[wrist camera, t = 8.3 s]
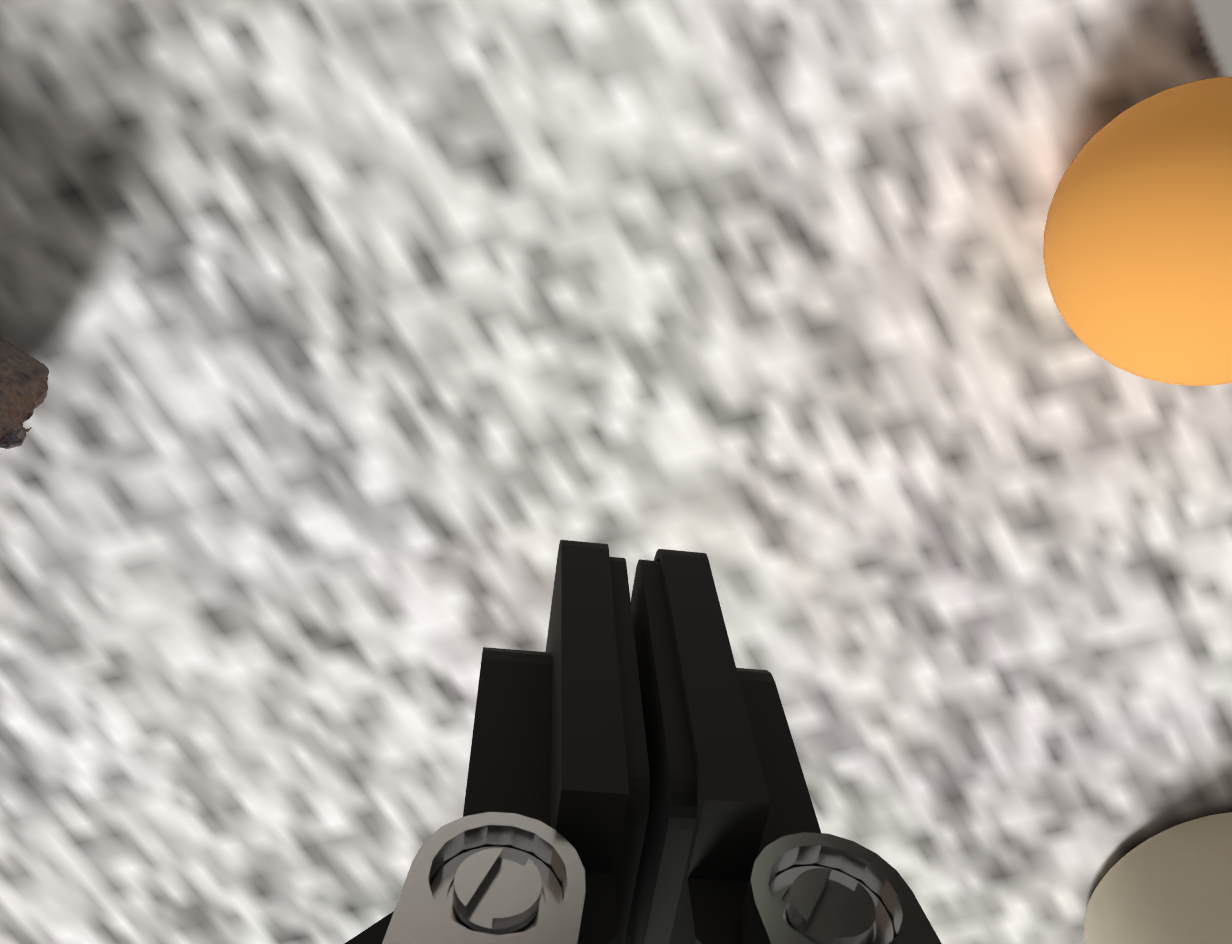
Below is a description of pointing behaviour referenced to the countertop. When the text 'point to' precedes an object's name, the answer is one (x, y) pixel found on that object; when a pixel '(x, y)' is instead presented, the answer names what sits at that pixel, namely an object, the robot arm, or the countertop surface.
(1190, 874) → the travel mug
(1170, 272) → the ball
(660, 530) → the countertop surface
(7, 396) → the perforated stone tool
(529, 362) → the countertop surface
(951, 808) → the countertop surface
